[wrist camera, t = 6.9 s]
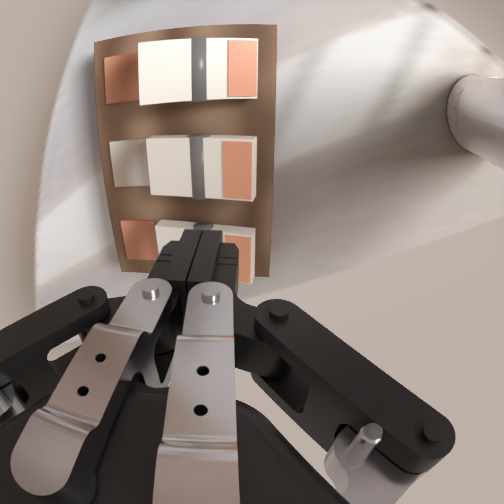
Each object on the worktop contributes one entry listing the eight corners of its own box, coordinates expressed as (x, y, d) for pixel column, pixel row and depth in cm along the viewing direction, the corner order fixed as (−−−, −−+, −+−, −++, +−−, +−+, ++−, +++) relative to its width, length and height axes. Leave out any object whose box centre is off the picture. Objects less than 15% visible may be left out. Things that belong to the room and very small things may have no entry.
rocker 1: (252, 39, 22) (258, 37, 20) (252, 98, 24) (257, 99, 23) (139, 44, 20) (137, 41, 18) (141, 105, 22) (139, 107, 21)
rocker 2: (257, 134, 24) (252, 138, 23) (256, 195, 27) (252, 203, 25) (154, 134, 26) (144, 138, 24) (159, 189, 28) (150, 196, 27)
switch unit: (275, 32, 24) (277, 24, 21) (268, 256, 37) (268, 278, 33) (112, 44, 25) (92, 42, 21) (133, 253, 37) (120, 273, 33)
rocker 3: (256, 226, 28) (251, 235, 27) (254, 275, 31) (251, 286, 29) (162, 217, 30) (153, 225, 28) (168, 264, 32) (160, 273, 31)
